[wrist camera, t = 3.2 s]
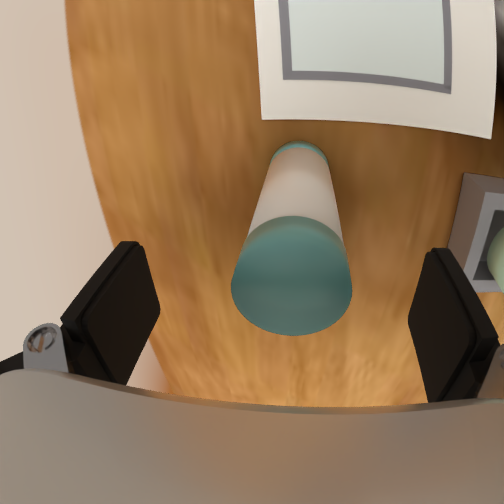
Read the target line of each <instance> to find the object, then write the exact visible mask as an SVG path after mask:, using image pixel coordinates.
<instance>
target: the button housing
mask: <svg viewBox="0 0 504 504" xmlns="http://www.w3.org/2000/svg"><path fill="white" fill-rule="evenodd" d="M503 227H504V178H498V177H492V176H485V175H478V174H471V173H464V176H463V181H462V187H461V192H460V197H459V202H458V206H457V211H456V215H455V219H454V224H453V228H452V232H451V235H450V239H449V243H448V247H447V248H449V249H450V250H451V252H452V253H453V255H454V257H455V258H456V260H457V261H458V263H459V265H460V266H461V268H462V270H463V271H464V273H465V275H466V276H467V278H468V280H469V281H470V283H471V285H472V287H473V288H474V290H475V292H502V290H501V289H500V287H499V285H498V284H497V282H496V280H495V279H494V277H493V276H492V274H491V272H490V271H489V269H488V265H487V255H488V250H489V247H490V245H491V243H492V241H493V239H494V237H495V236H496V235H497V233H498V232H499V231H500V230H501V229H502V228H503Z"/></svg>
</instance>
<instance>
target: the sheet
mask: <svg viewBox="0 0 504 504" xmlns="http://www.w3.org/2000/svg"><path fill="white" fill-rule="evenodd" d="M254 5H255V19H256V33H257V49H258V64H259V80H260V97H261V115H262V120H272V119H305V120H338V121H357V122H371V123H383V124H394V125H403V126H412V127H420V128H428V129H435V130H442V131H448V132H455V133H461V134H466V135H472V136H477V137H482V138H487V139H491V134H492V125H493V116H494V105H495V91H496V59H497V54H496V23H495V9H494V0H254Z"/></svg>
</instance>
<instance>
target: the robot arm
mask: <svg viewBox="0 0 504 504" xmlns="http://www.w3.org/2000/svg"><path fill="white" fill-rule="evenodd" d="M159 315H160V304H159V300H158V297H157V294H156V290H155V287H154V283H153V280H152V276H151V273H150V269H149V265H148V262H147V258H146V254H145V250H144V248H143V246H140V245H139V243H138V242H136V241H121V242H120V243H119V244H118V245H117V247H116V248H115V249H114V250H113V251H112V252H111V254H110V255H109V256H108V257H107V259H106V260H105V261H104V262H103V263H102V265H101V266H100V267H99V268H98V269H97V271H96V272H95V273H94V274H93V276H92V277H91V278H90V280H89V281H88V282H87V283H86V285H85V286H84V287H83V288H82V290H81V291H80V292H79V294H78V295H77V296H76V297H75V299H74V300H73V301H72V303H71V304H70V306H69V307H68V308H67V309H66V311H65V312H64V313H63V315H62V316H61V318H60V319H61V321H62V323H63V324H62V326H61V327H59V326H58V325H56V324H53V323H46V324H42V325H40V326H38V327H36V328H34V329H33V330H32V331H31V332H30V333H29V334H28V335H27V336H26V338H25V340H24V344H23V352H21V353H18V354H16V355H14V356H12V357H10V358H8V359H6V360H3V361H1V362H0V504H504V344H502V345H501V346H500V343H499V341H498V337H499V336H498V334H497V332H496V330H495V328H494V326H493V324H492V322H491V320H490V318H489V316H488V314H487V312H486V311H485V309H484V307H483V305H482V303H481V301H480V299H479V297H478V296H477V294H476V292H475V290H474V288H473V287H472V285H471V283H470V281H469V280H468V278H467V276H466V275H465V273H464V271H463V270H462V268H461V266H460V265H459V263H458V261H457V260H456V258H455V257H454V255H453V253H452V252H451V250H450V249H449V248H432V250H431V251H430V252H427V253H426V255H425V259H424V263H423V267H422V271H421V274H420V278H419V281H418V285H417V288H416V292H415V295H414V299H413V302H412V305H411V308H410V311H409V315H408V325H409V329H410V332H411V336H412V339H413V343H414V346H415V350H416V354H417V358H418V362H419V365H420V369H421V374H422V378H423V382H424V386H425V391H426V395H427V400H428V403H421V404H407V405H392V406H373V407H296V406H275V405H260V404H248V403H237V402H227V401H218V400H210V399H202V398H194V397H187V396H181V395H174V394H167V393H162V392H156V391H151V390H145V389H140V388H135V387H130V386H126V384H127V382H128V380H129V378H130V376H131V374H132V371H133V369H134V367H135V365H136V363H137V361H138V359H139V356H140V354H141V352H142V350H143V348H144V346H145V344H146V342H147V340H148V338H149V335H150V333H151V331H152V329H153V327H154V325H155V323H156V321H157V319H158V317H159Z"/></svg>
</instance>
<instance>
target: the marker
mask: <svg viewBox="0 0 504 504" xmlns="http://www.w3.org/2000/svg"><path fill="white" fill-rule="evenodd" d="M231 293H232V297H233V300H234V303H235V305H236V306H237V308H238V310H239V311H240V312H241V314H242V315H243V316H244V317H245V318H246V319H247V320H249V321H250V322H251V323H253V324H254V325H256V326H258V327H260V328H262V329H264V330H266V331H269V332H272V333H276V334H281V335H289V336H298V335H307V334H312V333H315V332H318V331H321V330H323V329H325V328H327V327H329V326H331V325H332V324H334V323H335V322H336V321H337V320H339V319H340V318H341V317H342V315H343V314H344V313H345V311H346V310H347V308H348V306H349V304H350V301H351V297H352V283H351V277H350V270H349V264H348V258H347V253H346V249H345V247H344V243H343V237H342V231H341V226H340V220H339V215H338V209H337V204H336V199H335V194H334V189H333V184H332V180H331V175H330V170H329V166H328V161H327V159H326V157H325V155H324V153H323V152H322V151H321V150H320V149H319V148H318V147H317V146H315V145H314V144H312V143H309V142H306V141H292V142H288V143H286V144H284V145H282V146H281V147H280V148H278V149H277V151H276V152H275V153H274V155H273V157H272V159H271V162H270V166H269V169H268V172H267V175H266V178H265V181H264V185H263V188H262V191H261V194H260V197H259V200H258V204H257V207H256V210H255V213H254V216H253V219H252V223H251V226H250V229H249V232H248V235H247V238H246V240H245V242H244V244H243V246H242V249H241V252H240V255H239V259H238V262H237V265H236V268H235V271H234V274H233V278H232V282H231Z"/></svg>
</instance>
